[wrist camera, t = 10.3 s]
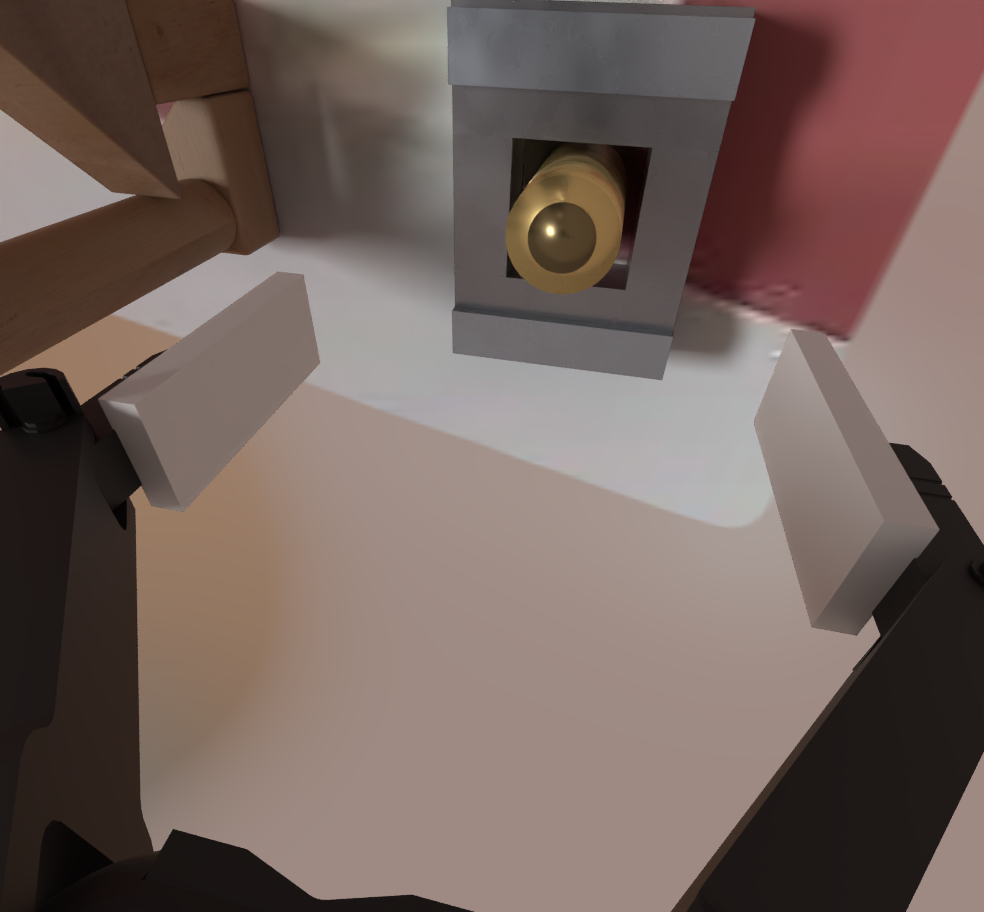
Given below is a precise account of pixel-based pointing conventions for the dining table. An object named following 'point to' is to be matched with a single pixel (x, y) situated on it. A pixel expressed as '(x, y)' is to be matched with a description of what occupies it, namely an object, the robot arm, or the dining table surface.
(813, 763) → the robot arm
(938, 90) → the dining table surface
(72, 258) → the brown wooden stand
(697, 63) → the jig
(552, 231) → the bushing
